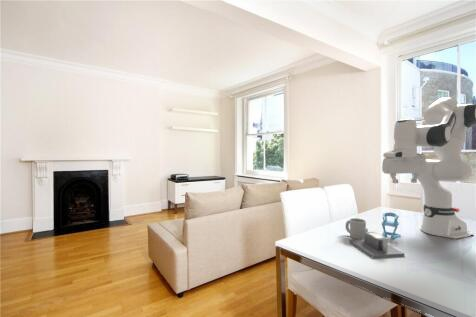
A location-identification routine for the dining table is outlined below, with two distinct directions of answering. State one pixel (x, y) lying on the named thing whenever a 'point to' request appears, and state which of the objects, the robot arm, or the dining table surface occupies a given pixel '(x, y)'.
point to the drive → (374, 240)
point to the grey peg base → (372, 252)
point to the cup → (356, 228)
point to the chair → (389, 223)
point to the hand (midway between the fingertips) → (404, 182)
